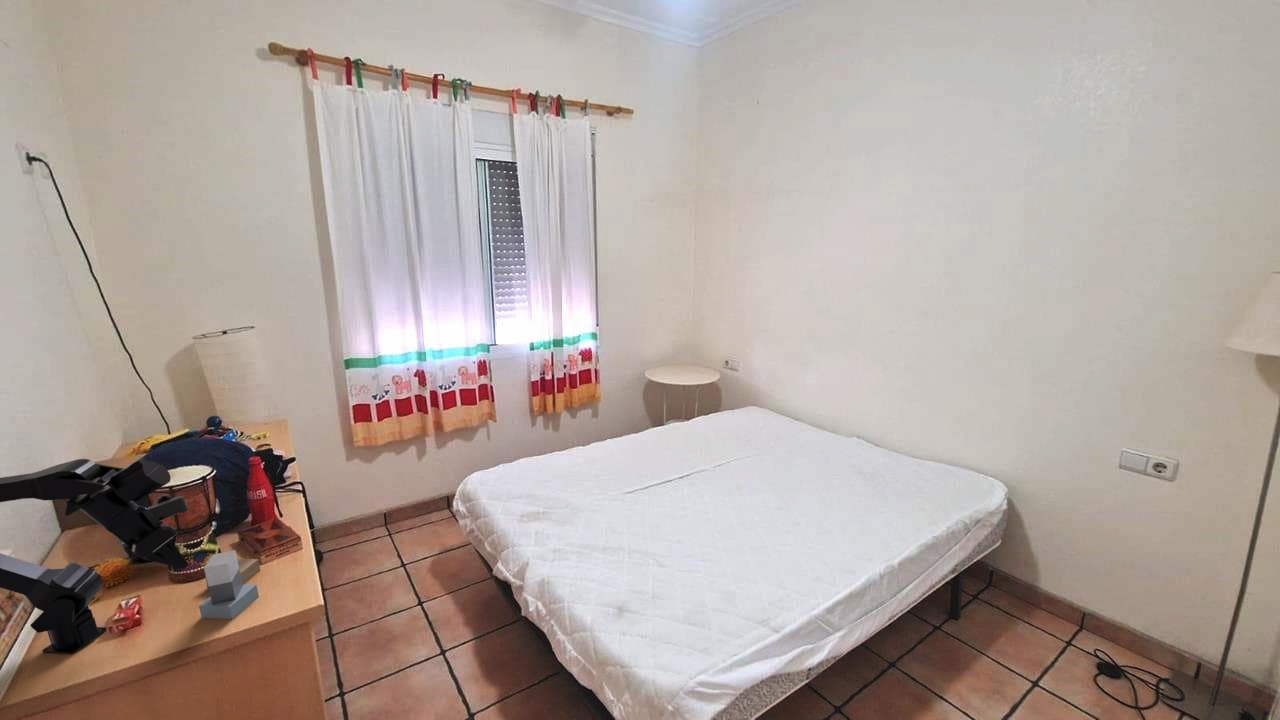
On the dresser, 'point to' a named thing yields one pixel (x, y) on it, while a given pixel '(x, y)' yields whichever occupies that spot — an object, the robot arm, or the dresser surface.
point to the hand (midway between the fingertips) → (181, 564)
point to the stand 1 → (247, 568)
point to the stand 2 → (229, 604)
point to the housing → (223, 577)
